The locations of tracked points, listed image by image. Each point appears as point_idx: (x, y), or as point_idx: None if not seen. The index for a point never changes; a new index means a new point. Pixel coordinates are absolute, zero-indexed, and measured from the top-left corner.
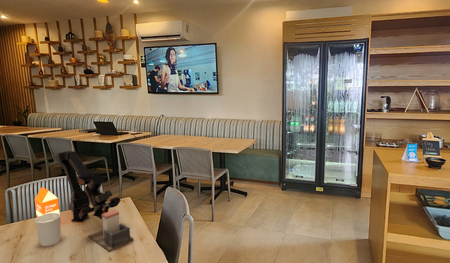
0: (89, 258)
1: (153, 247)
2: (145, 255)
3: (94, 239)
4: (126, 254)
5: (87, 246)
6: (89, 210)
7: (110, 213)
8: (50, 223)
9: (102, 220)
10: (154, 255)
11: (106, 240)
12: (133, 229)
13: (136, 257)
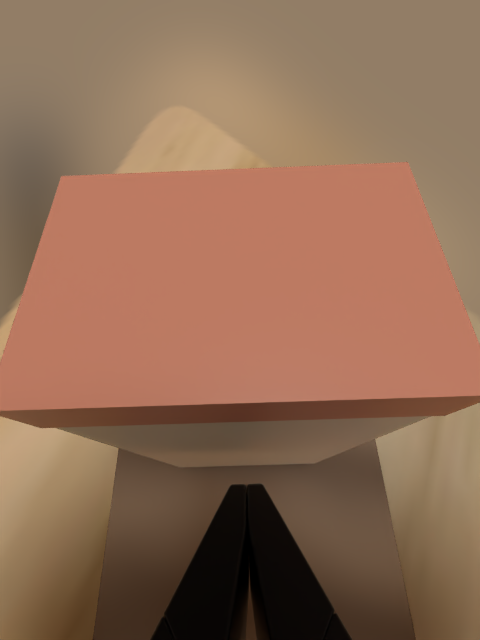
0: (472, 314)
1: (133, 165)
2: (206, 144)
3: (395, 543)
4: None
5: (466, 500)
6: None
7: (244, 243)
8: None
9: (390, 430)
10: (179, 123)
11: None
12: (14, 444)
13: (246, 157)
